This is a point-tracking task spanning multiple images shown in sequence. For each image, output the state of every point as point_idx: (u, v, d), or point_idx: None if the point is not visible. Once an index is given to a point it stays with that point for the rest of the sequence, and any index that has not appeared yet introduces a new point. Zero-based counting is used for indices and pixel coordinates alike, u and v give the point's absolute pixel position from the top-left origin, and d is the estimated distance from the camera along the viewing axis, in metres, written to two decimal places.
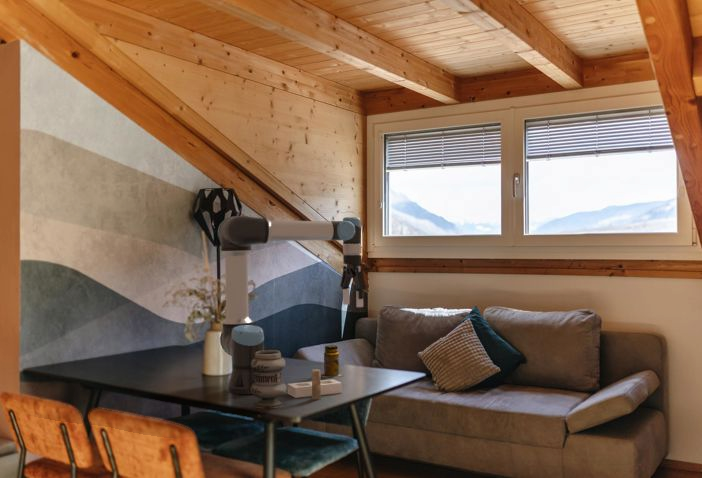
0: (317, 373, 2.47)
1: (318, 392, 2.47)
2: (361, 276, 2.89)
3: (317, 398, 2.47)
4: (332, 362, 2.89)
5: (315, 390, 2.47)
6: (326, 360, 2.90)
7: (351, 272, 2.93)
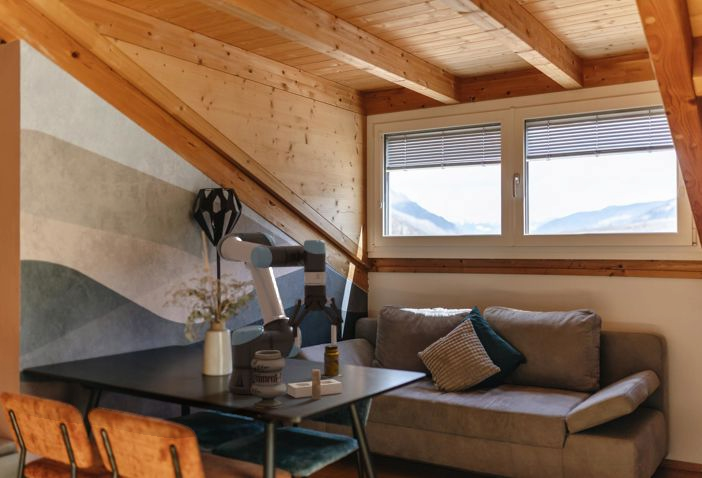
0: (317, 373, 2.47)
1: (318, 392, 2.47)
2: (294, 310, 2.45)
3: (317, 398, 2.47)
4: (332, 362, 2.89)
5: (315, 390, 2.47)
6: (326, 360, 2.90)
7: (306, 305, 2.49)
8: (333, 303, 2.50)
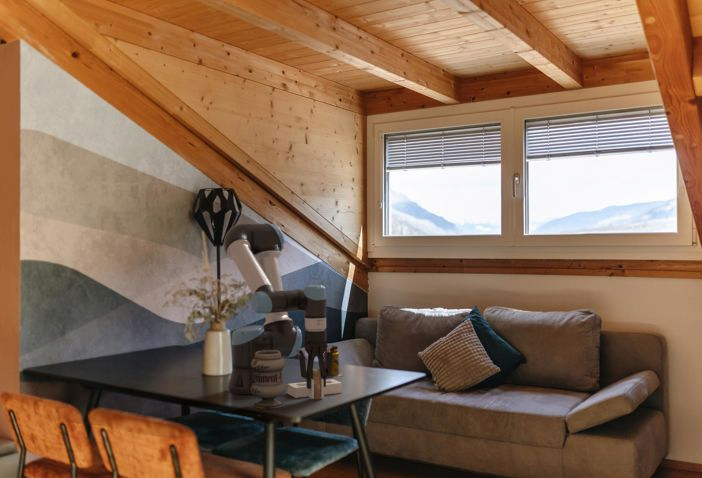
0: (317, 373, 2.47)
1: (318, 392, 2.47)
2: (301, 362, 2.46)
3: (317, 398, 2.47)
4: (332, 362, 2.89)
5: (315, 389, 2.47)
6: None
7: None
8: (331, 353, 2.50)
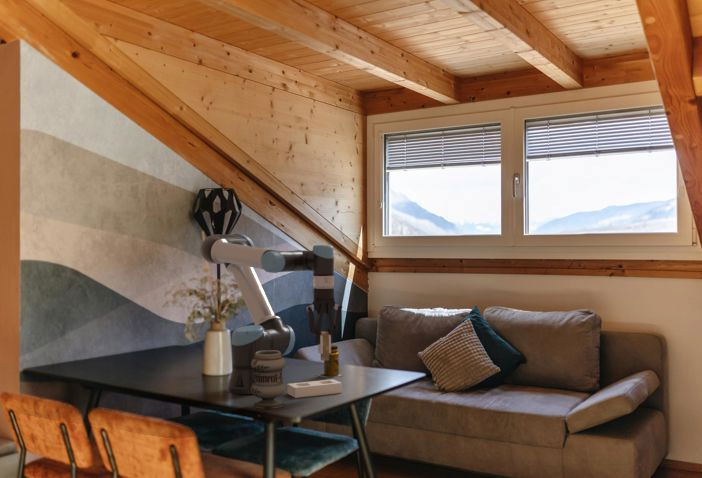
0: (325, 335, 2.57)
1: (326, 353, 2.57)
2: (310, 318, 2.56)
3: (325, 359, 2.57)
4: (332, 362, 2.89)
5: (323, 351, 2.57)
6: None
7: None
8: (338, 310, 2.59)
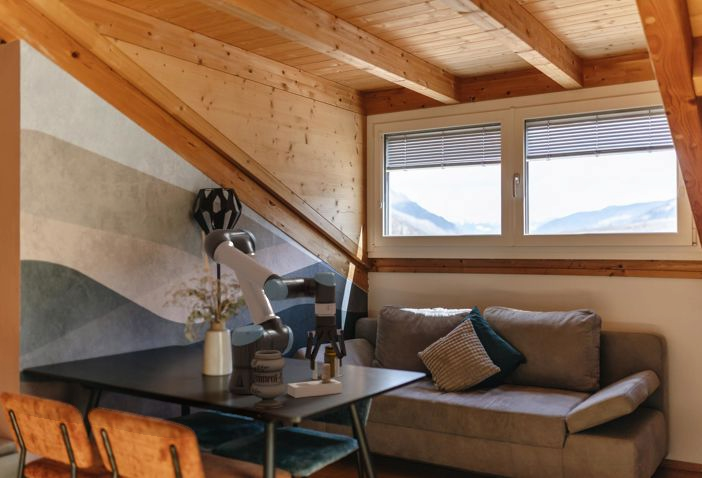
0: (327, 367, 2.58)
1: None
2: (308, 343, 2.57)
3: None
4: (332, 362, 2.89)
5: (325, 383, 2.58)
6: (326, 360, 2.90)
7: None
8: (341, 335, 2.61)
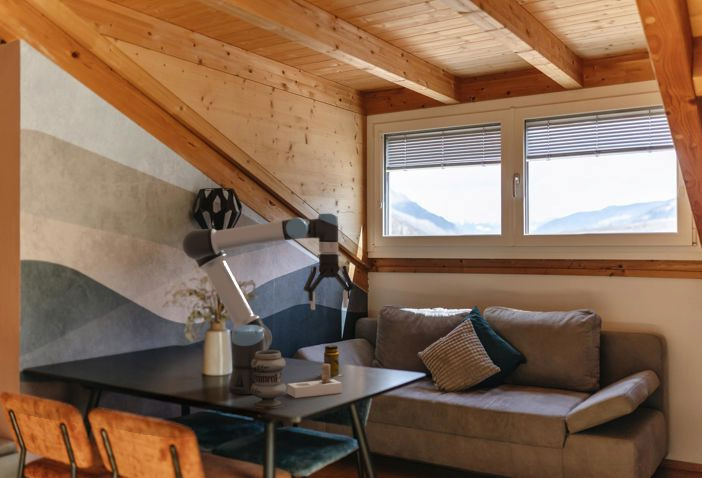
0: (327, 367, 2.58)
1: None
2: (310, 277, 2.72)
3: None
4: (332, 362, 2.89)
5: (325, 383, 2.58)
6: (326, 360, 2.90)
7: None
8: (345, 271, 2.77)
